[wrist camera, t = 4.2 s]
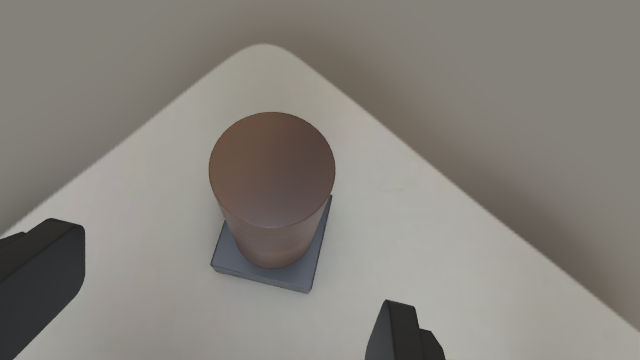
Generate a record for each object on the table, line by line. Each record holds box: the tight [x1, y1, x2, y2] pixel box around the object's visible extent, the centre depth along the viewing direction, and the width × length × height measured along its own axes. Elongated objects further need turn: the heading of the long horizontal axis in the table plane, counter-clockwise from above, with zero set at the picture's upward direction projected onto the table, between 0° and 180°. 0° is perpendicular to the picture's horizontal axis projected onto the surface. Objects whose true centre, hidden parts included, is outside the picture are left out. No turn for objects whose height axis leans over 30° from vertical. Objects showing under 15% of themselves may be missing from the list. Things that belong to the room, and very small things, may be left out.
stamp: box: [209, 112, 335, 294], centre depth 17 cm, size 5×5×10 cm
